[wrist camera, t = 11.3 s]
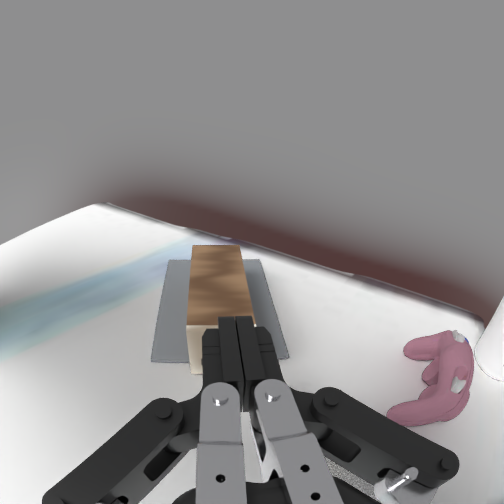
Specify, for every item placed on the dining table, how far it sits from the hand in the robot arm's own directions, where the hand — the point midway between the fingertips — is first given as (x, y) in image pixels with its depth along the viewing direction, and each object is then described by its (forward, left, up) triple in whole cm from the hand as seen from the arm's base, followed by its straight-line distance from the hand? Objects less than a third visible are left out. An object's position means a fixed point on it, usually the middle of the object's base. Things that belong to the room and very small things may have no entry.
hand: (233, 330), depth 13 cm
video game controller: (+14, +10, -11) cm, 20 cm away
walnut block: (-3, +4, -8) cm, 9 cm away
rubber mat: (-9, +13, -11) cm, 19 cm away
